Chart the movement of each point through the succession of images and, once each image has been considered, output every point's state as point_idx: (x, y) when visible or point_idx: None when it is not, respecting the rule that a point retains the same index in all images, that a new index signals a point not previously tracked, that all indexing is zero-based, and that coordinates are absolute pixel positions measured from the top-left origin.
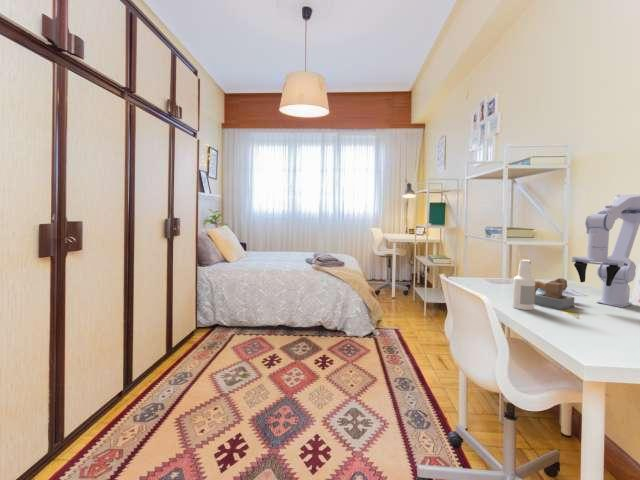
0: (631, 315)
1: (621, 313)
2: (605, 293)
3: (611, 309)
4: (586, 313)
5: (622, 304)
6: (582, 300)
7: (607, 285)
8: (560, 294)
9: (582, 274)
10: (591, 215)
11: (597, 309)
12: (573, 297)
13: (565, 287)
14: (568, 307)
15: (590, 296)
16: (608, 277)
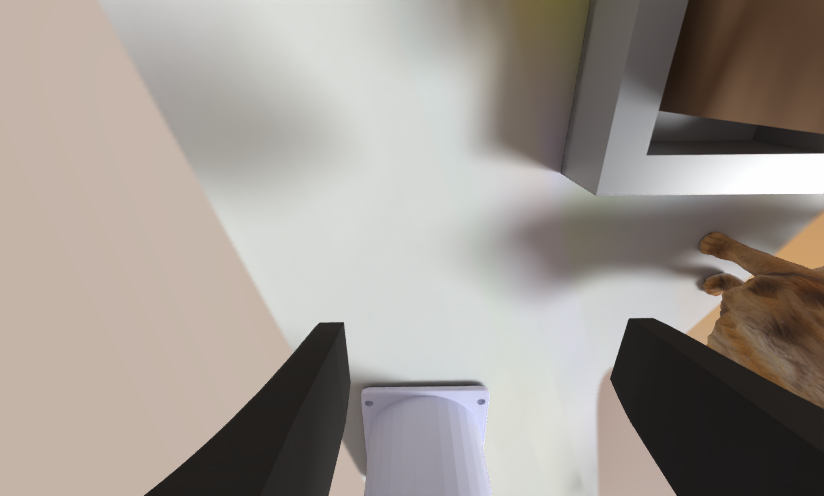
0: (253, 254)
1: (304, 253)
2: (458, 455)
3: (379, 303)
4: (427, 7)
5: (376, 420)
6: (559, 379)
7: (328, 326)
8: (736, 64)
9: (734, 425)
10: None
11: (427, 229)
12: (601, 178)
13: (723, 349)
14: (580, 67)
15: (550, 483)
16: (265, 417)
